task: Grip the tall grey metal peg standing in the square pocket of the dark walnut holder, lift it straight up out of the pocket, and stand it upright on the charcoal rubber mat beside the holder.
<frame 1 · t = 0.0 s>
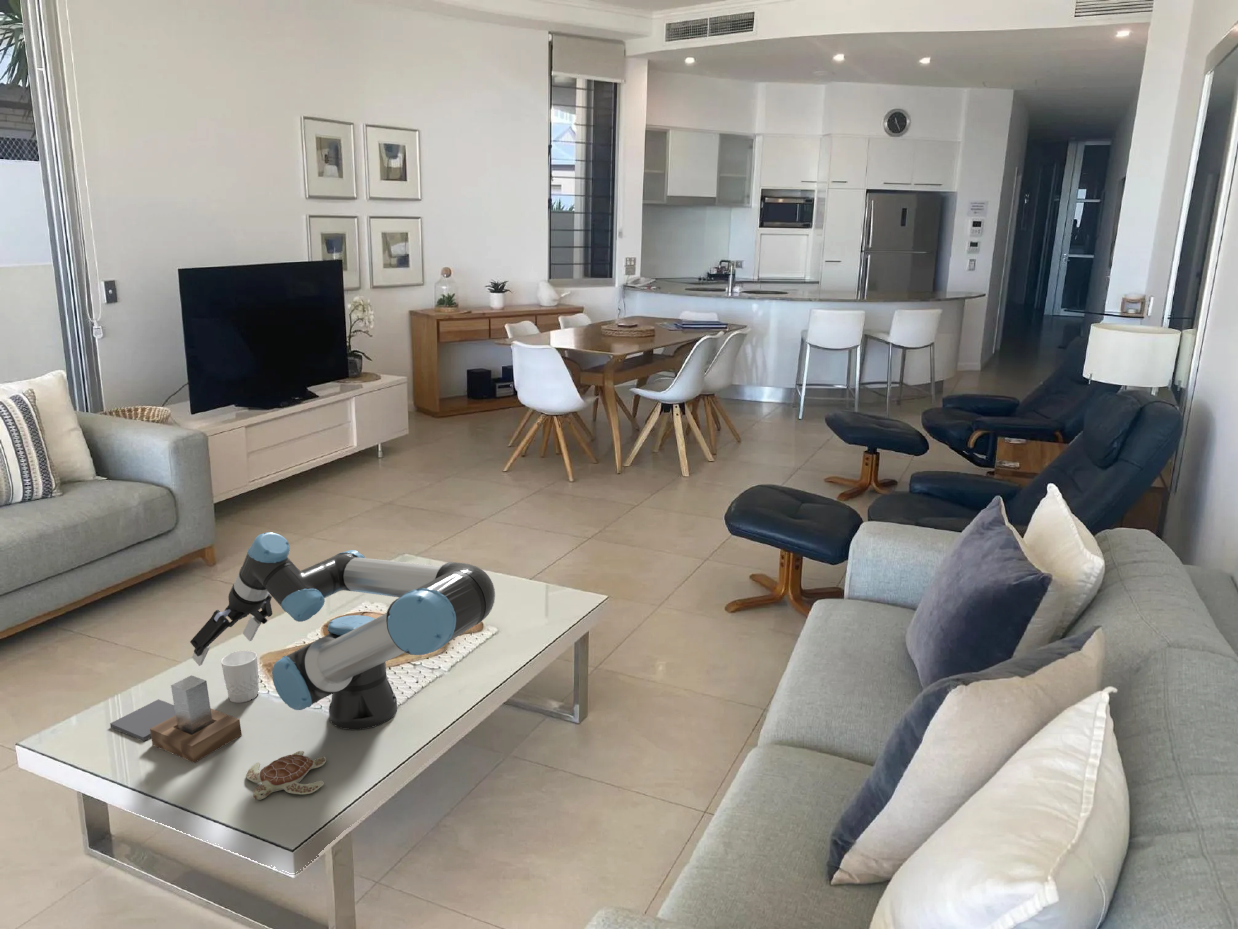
hand: (222, 648, 213), 15 cm above the table, tool tilted 35°, fingers open, 13 cm apart
white cup: (244, 696, 223), on the table
decorative turtle: (286, 783, 190), on the table
rubber mat: (151, 721, 212), on the table
metal peg: (193, 712, 202), in the walnut holder
walnut holder: (197, 740, 204), on the table
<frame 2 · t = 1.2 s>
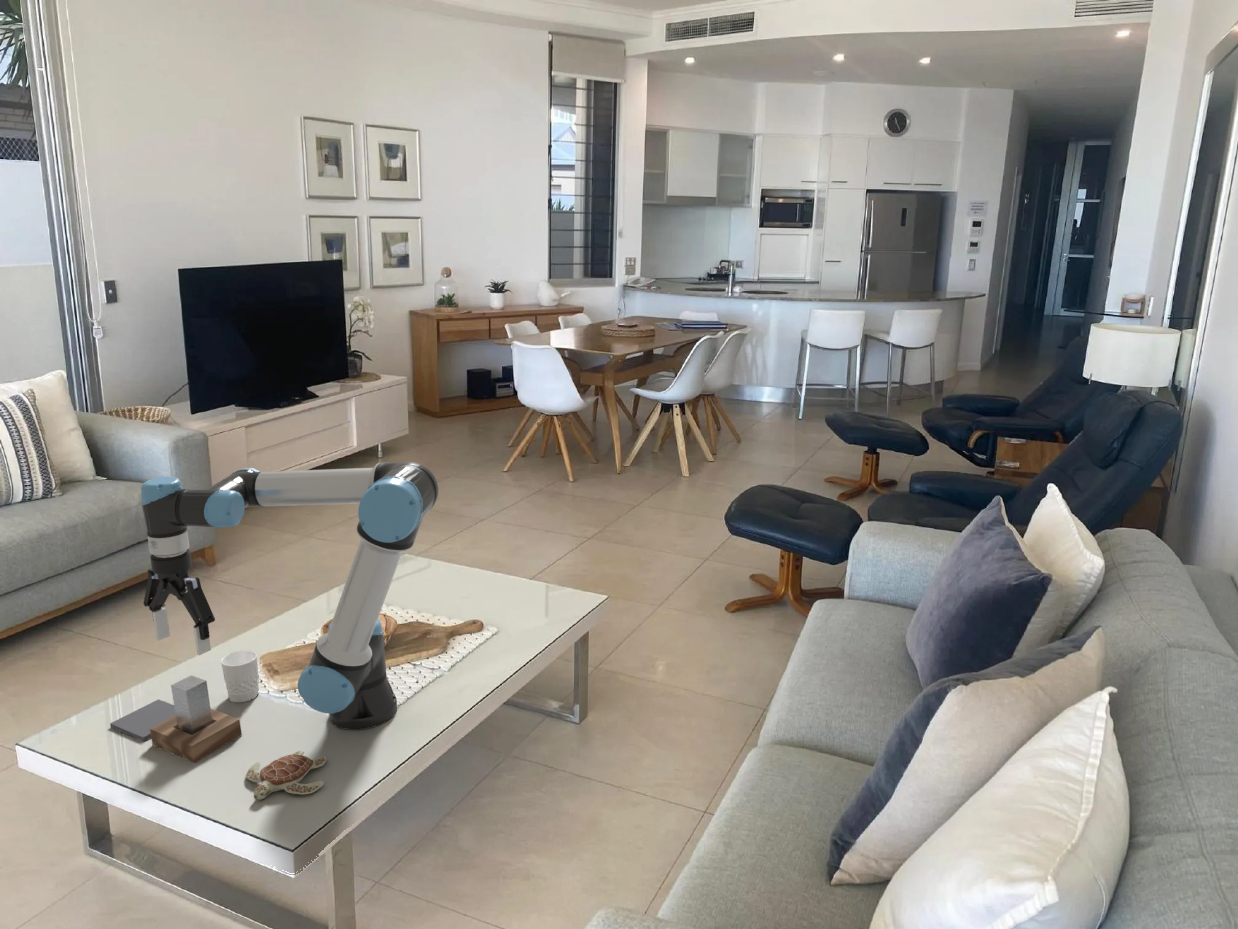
hand: (183, 645, 198), 23 cm above the table, tool pointing down, fingers open, 13 cm apart
nothing on the table moved.
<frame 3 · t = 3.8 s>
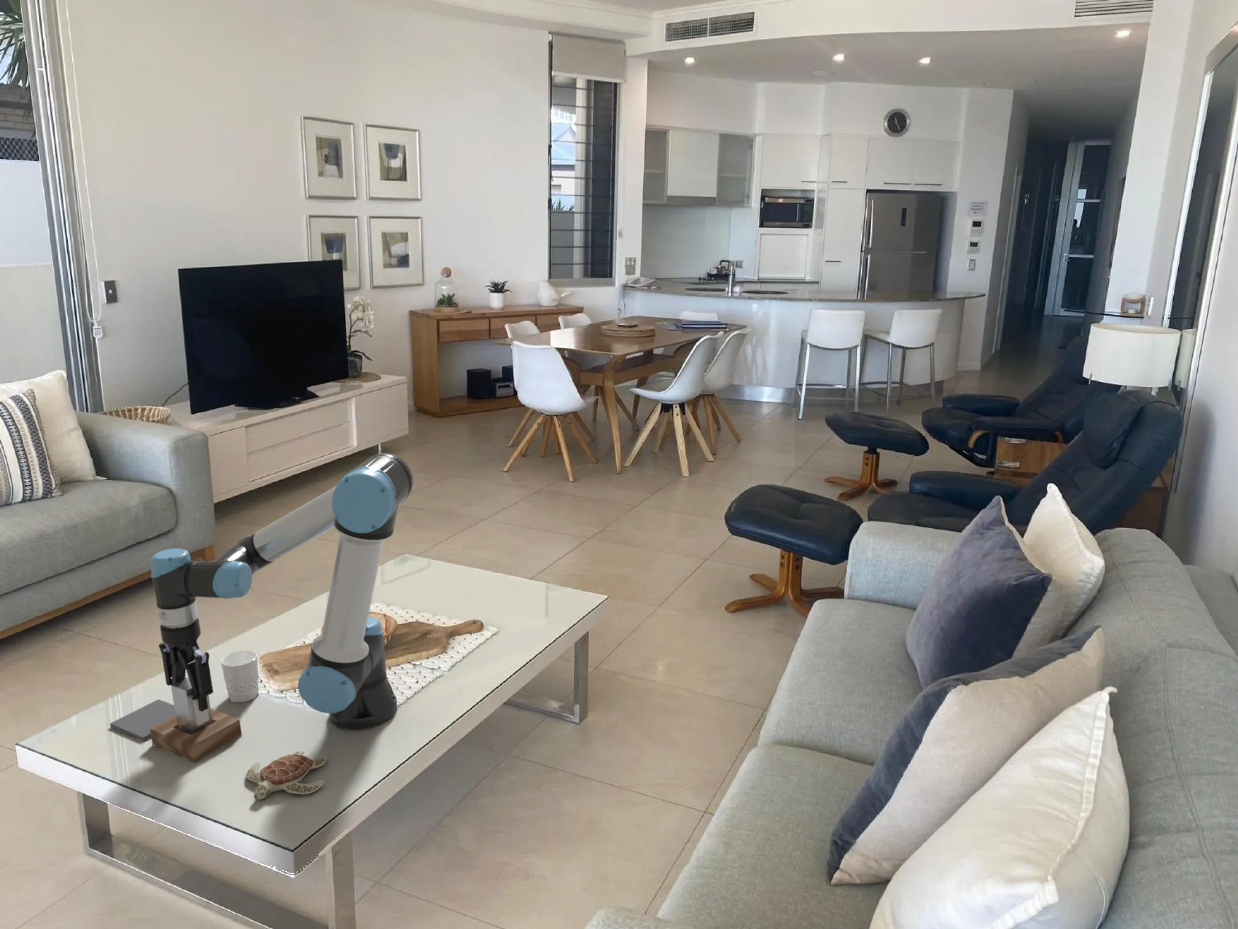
hand: (194, 718, 203), 5 cm above the table, tool pointing down, fingers closed on metal peg, 5 cm apart
metal peg: (193, 711, 202), in the walnut holder, touching gripper
everything else where it was.
when the fingers open (7 cm above the table, at t = 11.1 s): metal peg stays where it is, resting on rubber mat.
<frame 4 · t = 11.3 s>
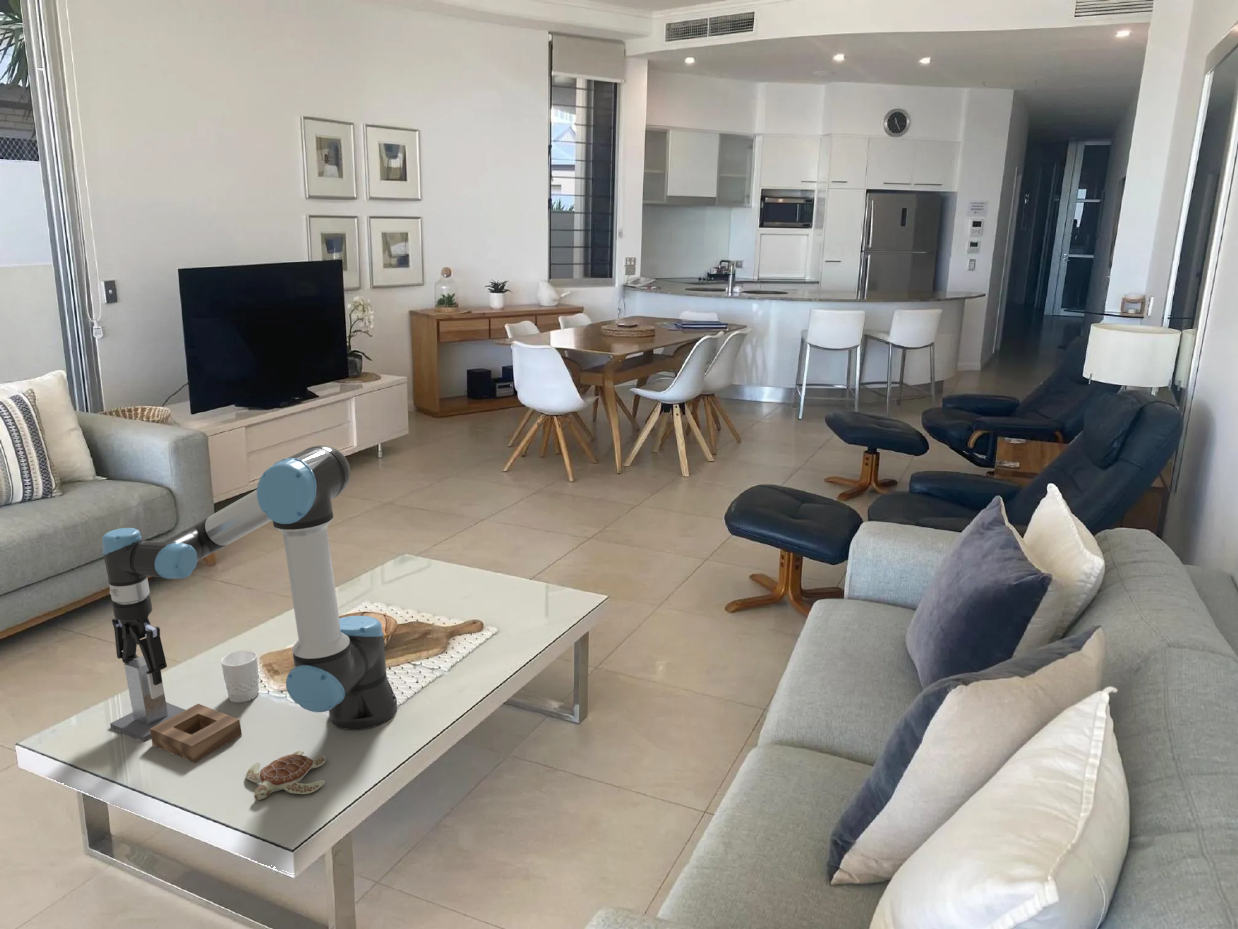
hand: (146, 691, 210), 8 cm above the table, tool pointing down, fingers open, 7 cm apart
metal peg: (146, 689, 210), on the rubber mat, point 8 cm above the table
everything else where it was.
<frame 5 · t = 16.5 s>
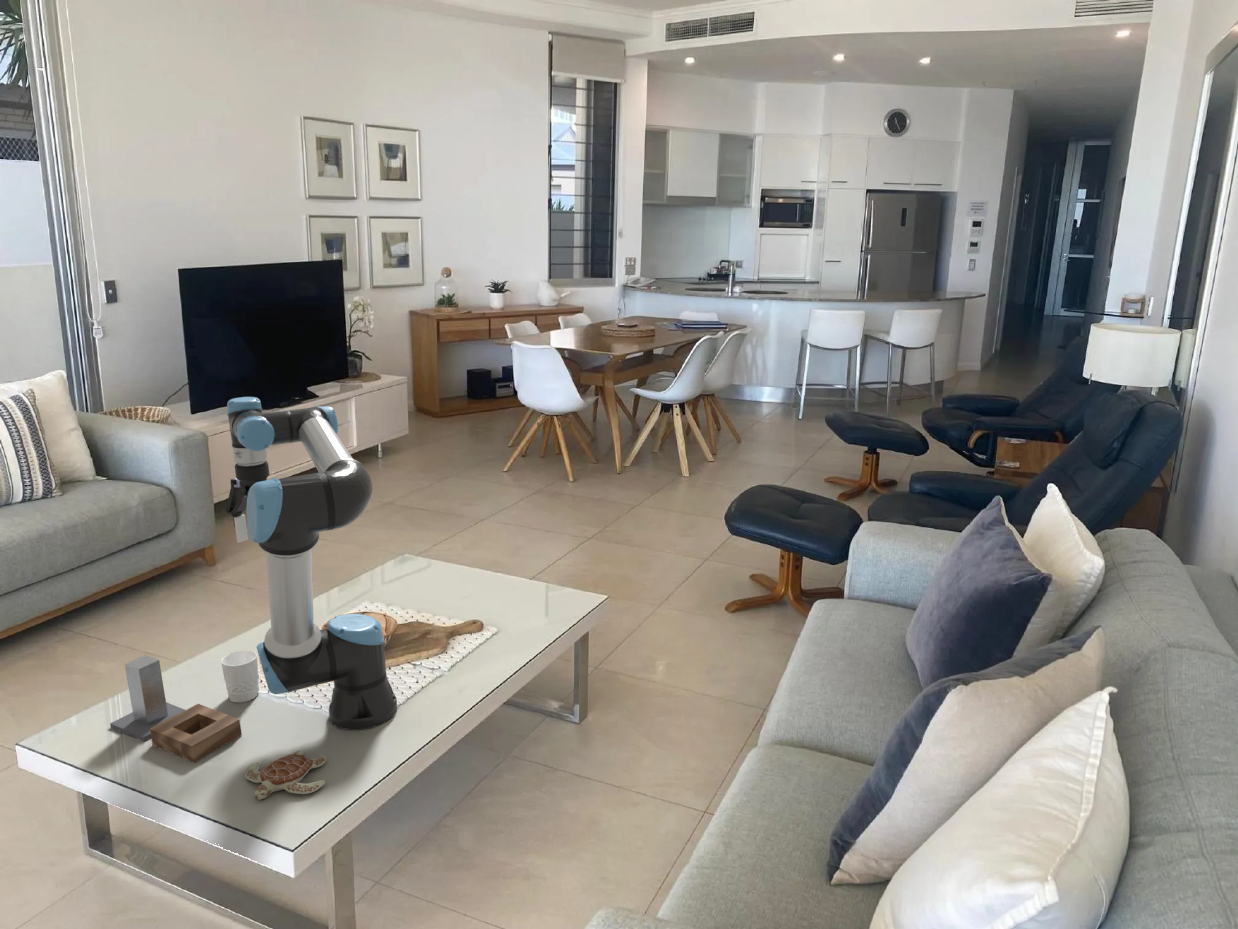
hand: (261, 545, 228), 33 cm above the table, tool pointing down, fingers open, 13 cm apart
nothing on the table moved.
at the end: metal peg inside the target area on the rubber mat (0.1 cm from its centre), point 8.0 cm above the rubber mat's base; metal peg tilted 0°; the gripper is holding nothing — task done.
